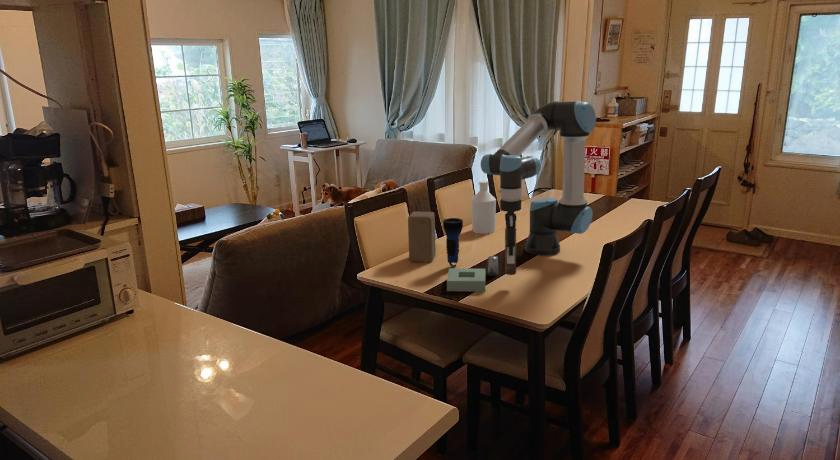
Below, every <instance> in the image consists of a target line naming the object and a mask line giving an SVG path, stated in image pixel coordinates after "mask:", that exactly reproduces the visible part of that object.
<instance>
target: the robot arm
mask: <svg viewBox="0 0 840 460" xmlns="http://www.w3.org/2000/svg"><path fill="white" fill-rule="evenodd" d="M596 123H597V116H596V111H595V108H594V107H593V105H592V104H591V103H590V102H587V101H586V102H585V101H579V100H578V101H560V100H559V101H551V102H548V103H546V104H544V105H542V106H540V107H538V108H537V109H536V110H534V111H533V112H532V113H531V114H529V116H528V117H527V118H526V122H525V123H524V124H522V126H521V127H520V128H519V129H518V130H517V131H516V132H515V133H513V134H512V136H511V137H510V138H509V139H508V140H506V141H505V142H504V143H503V145H501V146H500V147H499V148H498V149H497V150H496V151H495V152H494V153H493V154H491V153H488V154H484V155H483V156H482V158H481V160H480V169H481V171H482V172H483V173H484V174H487V175H491V176H499V182H500V184H499V185H500V186H499V189H498V191H497V192H498V193H499V195H500V199H499V208H500V211H502V212H506V213H504V220H505V228H507V239H508V244H507V245H505V244H504V248H505V247H507V264H515V228H517V225H516V224H517V214H516V213H515V212H519V211H521V210H522V190H523V189H522V182H523V181H522V180H526V179H529V178H533V177H535V176H537V175H538V174H539V173H540V172H541V168H542V165H541V162H540V159H538V157H536V156H533V155H528V156H521V155H522V154H523V153H524V152H525V151H526V150H527V149H528V148H529V146H531V145H532V144H533V143H534V142H535V140H537V139H538V138H539V136H543V135H545V134H546V133H547V132H549V131H558V132H559V136H560V138H561V139H562V140H563V147H562V148H563V151H562V152H563V155H562V156H563V157H562V197H561V198H559V200H558V198H555V197H545V198H538V199H534V200H532V201H531V202H530V205H529V234H528V237H527V239H526V241H525V242H526V243H525V245H524V250H525V252H526V253H528V254H531V255H535V256H536V255H537V256H552V255H557V254H559V253H560V252H561V244H560V242H559V238H558V235H557V231H560V232H565V233H571V234H579V235H580V234H584V233H586V231H587V230H588V229H589V227H590V225H591V223H592V220H593V209H592V208H591V207H590V206H588V200H587V199H586V198H585V191H584V190H585V169H586V168H585V164H586V162H585V161H586V140H587V139H588V138H589V137H590V132H593V131H594V130H595V127H596V126H595V125H596Z"/></svg>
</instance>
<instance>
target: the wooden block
mask: <svg viewBox="0 0 840 460" xmlns="http://www.w3.org/2000/svg"><path fill="white" fill-rule="evenodd" d="M435 218H436V214H435V212H434V211H412V212H411V213H410V214H409V216H408V217H407V225H408V226H407V228H408V229H407V230H408V231H407V233H408V234H407V235H408V236H407V237H408V255H409V256H408V258H409V259H408V260H409V261H410V262H412V263H413V262H415V263H418V262H419V263H432V262H433V260H434V258H435V257H436V256H437V254H436V250H437V249H436V219H435Z"/></svg>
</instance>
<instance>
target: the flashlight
mask: <svg viewBox="0 0 840 460" xmlns="http://www.w3.org/2000/svg"><path fill="white" fill-rule="evenodd" d="M463 223H464V222H463V219H462V218H459V217H448V218H444V219H443V221H442V225H443V226H442V227H443V231H444V233H445V236H446V239H445V241H446V242H445V245H446V254H447V263H449V265H450V266H451V268H456V267H457V263H458V261H459V253H460V239H459V236H460V234H461V232H462V230H463V227H464V225H463Z"/></svg>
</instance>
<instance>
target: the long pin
mask: <svg viewBox="0 0 840 460" xmlns="http://www.w3.org/2000/svg"><path fill="white" fill-rule="evenodd" d="M507 244H508V239H507V228H506V227H504V274H505V275H508V276H514V275H516V274H517V227H515V264H507V247H505V245H507Z"/></svg>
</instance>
